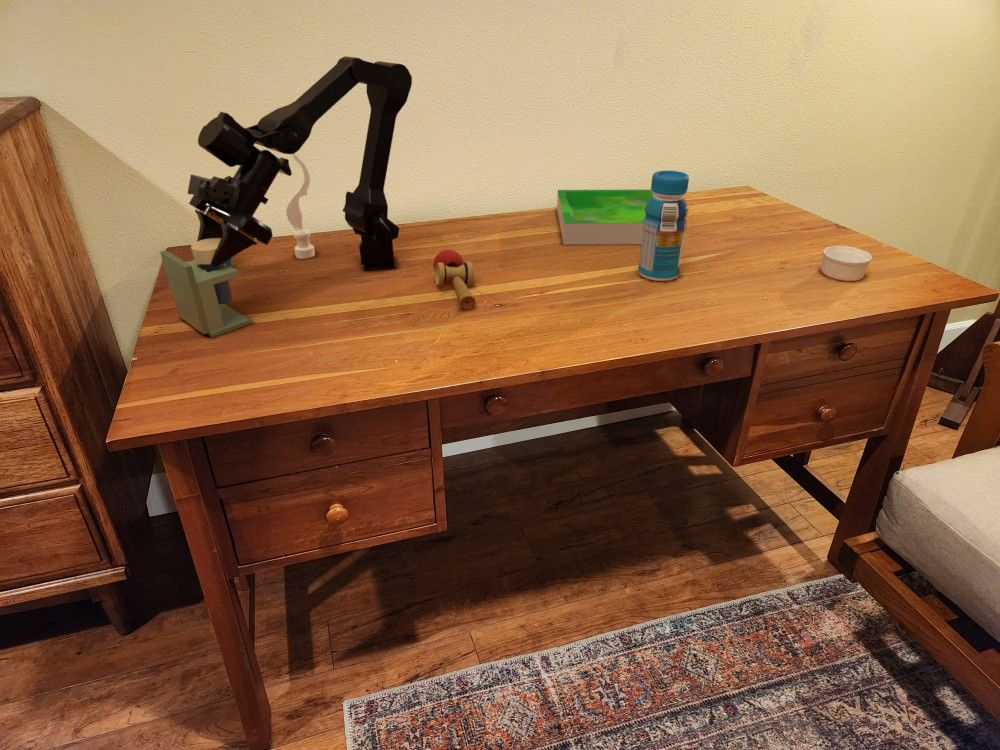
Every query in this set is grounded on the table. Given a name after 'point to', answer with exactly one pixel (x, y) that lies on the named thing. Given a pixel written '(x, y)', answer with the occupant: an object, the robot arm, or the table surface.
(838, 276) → the ramekin
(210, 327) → the stand
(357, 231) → the robot arm
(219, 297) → the peg
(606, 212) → the tray
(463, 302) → the kendama
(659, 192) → the beverage bottle
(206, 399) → the table surface
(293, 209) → the decorative finial
